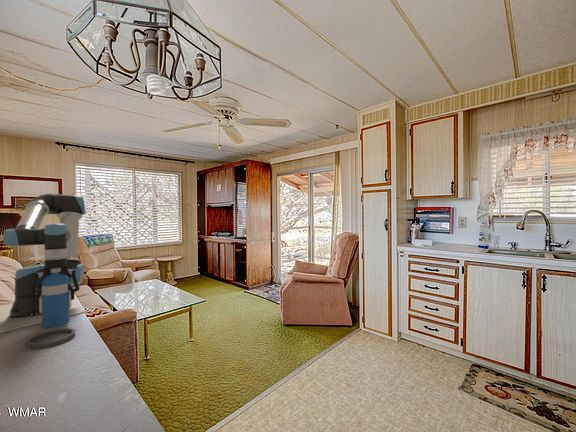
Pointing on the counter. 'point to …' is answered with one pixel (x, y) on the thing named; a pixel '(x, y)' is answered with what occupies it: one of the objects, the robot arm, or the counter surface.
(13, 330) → the counter surface
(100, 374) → the counter surface
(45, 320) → the water bottle
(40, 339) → the coaster ring
